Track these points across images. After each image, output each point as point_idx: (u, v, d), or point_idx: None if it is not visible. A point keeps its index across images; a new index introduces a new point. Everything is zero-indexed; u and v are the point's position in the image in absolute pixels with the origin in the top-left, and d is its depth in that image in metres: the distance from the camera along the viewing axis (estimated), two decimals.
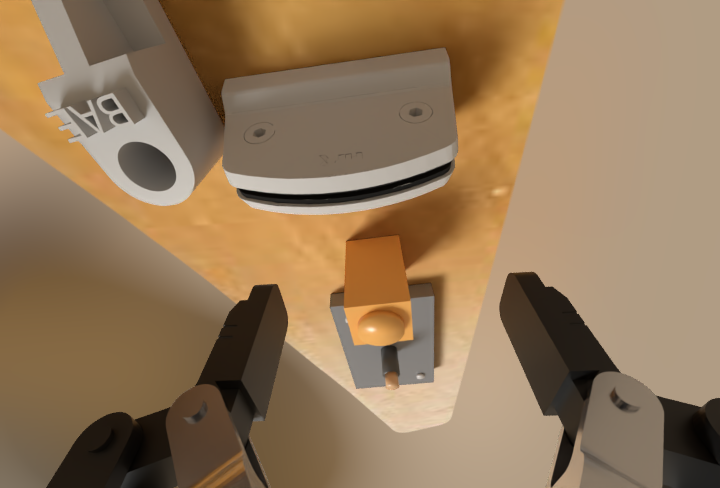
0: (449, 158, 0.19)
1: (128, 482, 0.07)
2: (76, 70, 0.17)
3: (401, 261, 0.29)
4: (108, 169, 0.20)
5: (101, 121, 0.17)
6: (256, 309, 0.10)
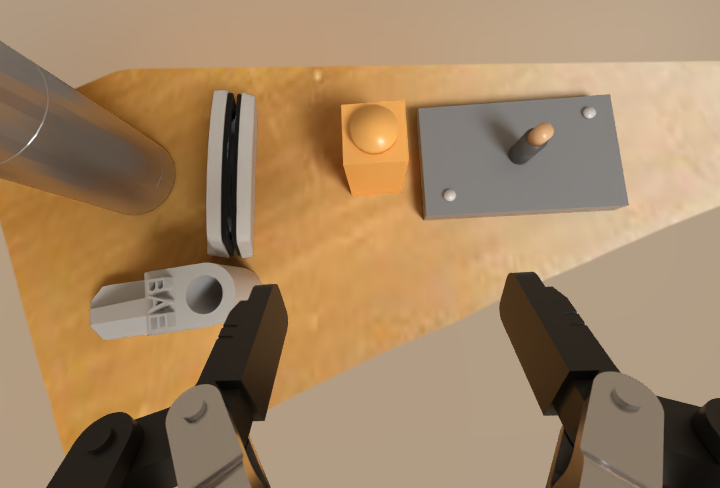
0: (224, 91, 0.29)
1: (128, 482, 0.07)
2: (145, 306, 0.28)
3: None
4: (200, 323, 0.27)
5: (161, 298, 0.27)
6: (256, 309, 0.10)
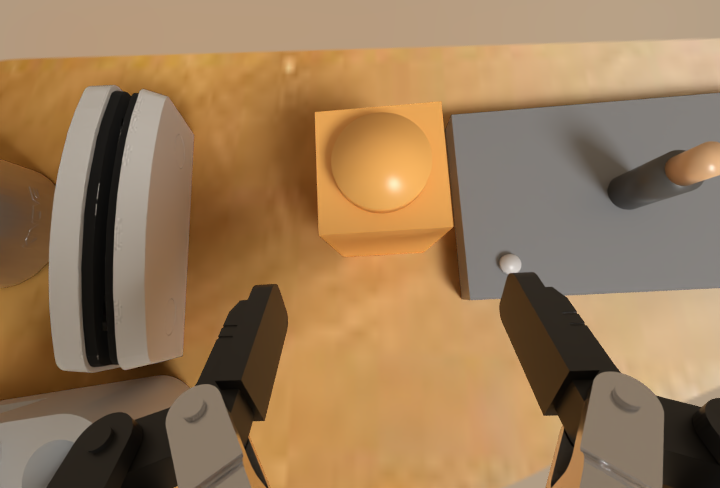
0: (104, 88, 0.16)
1: (128, 482, 0.07)
2: None
3: None
4: None
5: None
6: (256, 309, 0.10)
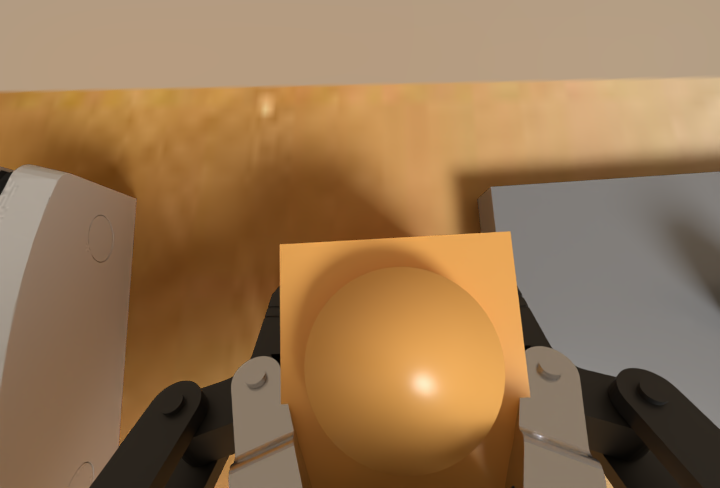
0: None
1: (190, 449, 0.07)
2: None
3: None
4: None
5: None
6: None
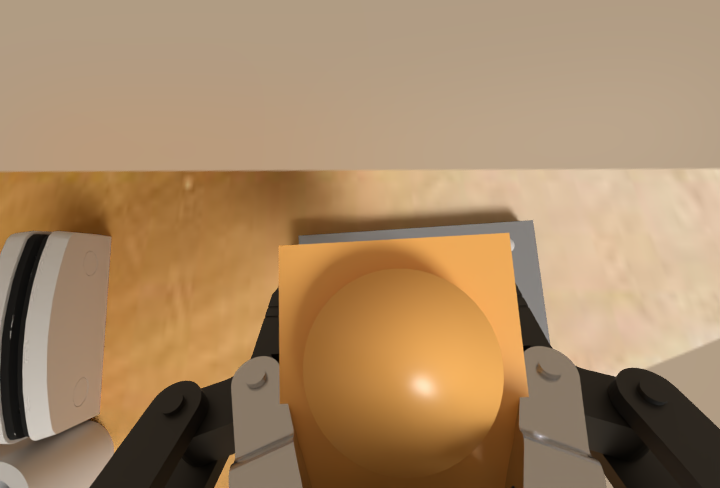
0: (21, 238, 0.23)
1: (190, 449, 0.07)
2: None
3: None
4: None
5: None
6: None
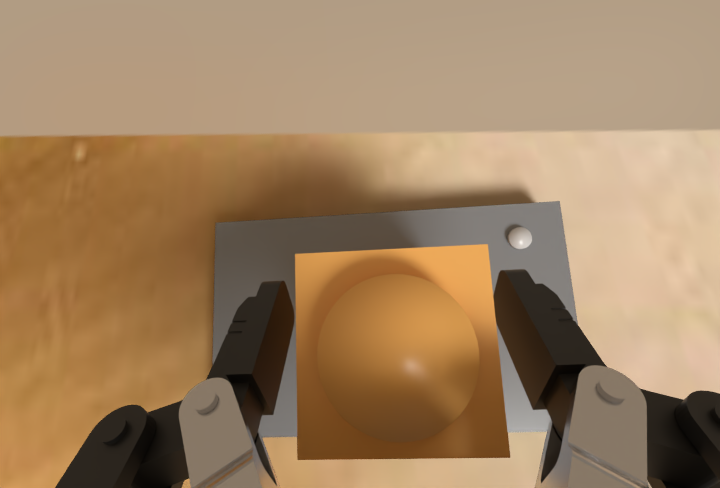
0: None
1: (140, 474, 0.07)
2: None
3: None
4: None
5: None
6: (264, 305, 0.10)
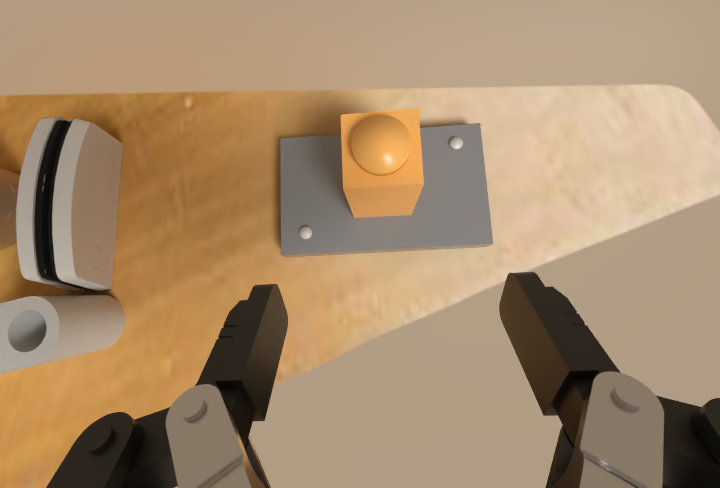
0: (51, 119, 0.28)
1: (128, 482, 0.07)
2: None
3: None
4: (23, 362, 0.25)
5: None
6: (256, 309, 0.10)
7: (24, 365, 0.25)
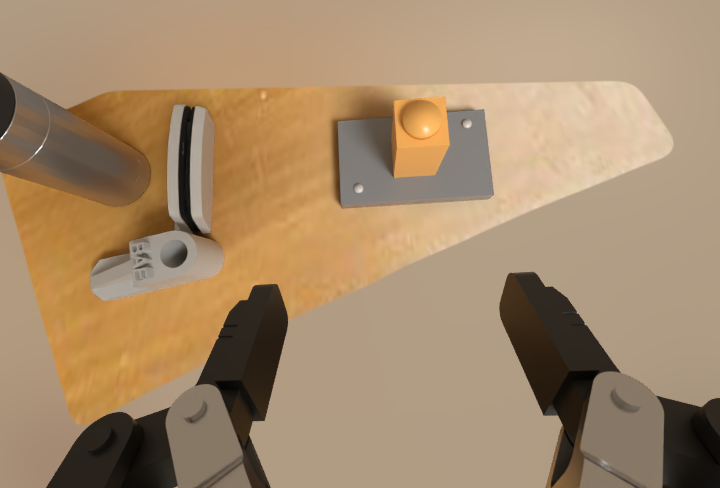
0: (181, 105, 0.39)
1: (128, 482, 0.07)
2: (131, 266, 0.38)
3: (392, 125, 0.38)
4: (172, 274, 0.37)
5: (141, 257, 0.36)
6: (256, 309, 0.10)
7: (173, 276, 0.37)
